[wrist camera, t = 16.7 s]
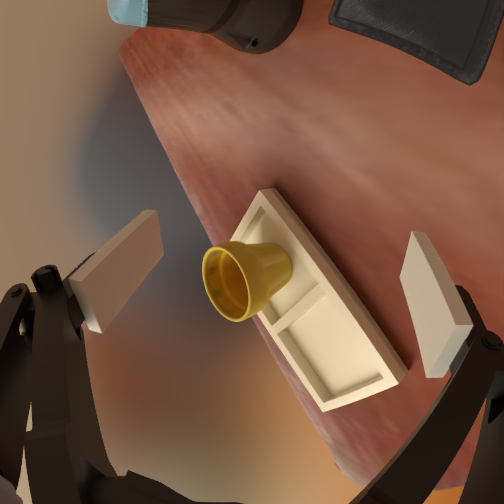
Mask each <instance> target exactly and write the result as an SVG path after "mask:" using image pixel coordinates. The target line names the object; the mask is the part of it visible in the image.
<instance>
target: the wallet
mask: <svg viewBox="0 0 504 504" xmlns="http://www.w3.org/2000/svg"><path fill="white" fill-rule="evenodd" d="M503 16H504V0H335V1H334V4H333V6H332V9H331V11H330V14H329V24H330V25H333V26H336V27H339V28H342V29H345V30H348V31H351V32H354V33H357V34H360V35H363V36H366V37H369V38H371V39H374V40H377V41H380V42H382V43H385V44H387V45H390V46H393V47H395V48H397V49H399V50H402V51H404V52H406V53H408V54H410V55H412V56H414V57H416V58H418V59H420V60H422V61H424V62H426V63H428V64H430V65H432V66H434V67H436V68H438V69H439V70H441V71H443V72H445V73H446V74H448V75H450V76H451V77H453V78H454V79H456V80H459V81H461V82H463V83H465V84H467V85H469V86H470V85H472V84H474V83H476V82H478V81H479V79H480V77H481V75H482V73H483V71H484V69H485V67H486V64H487V61H488V59H489V56H490V53H491V50H492V48H493V45H494V42H495V39H496V36H497V33H498V30H499V27H500V24H501V21H502V19H503Z"/></svg>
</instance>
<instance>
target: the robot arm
mask: <svg viewBox="0 0 504 504" xmlns="http://www.w3.org/2000/svg"><path fill="white" fill-rule="evenodd" d="M107 6H108V12H109V15H110V17H111V19H112V20H113V21H115V22H116V23H119V24H127V25H135V26H140V27H145V26H147V27H160V28H170V29H179V30H187V31H194V32H201V33H207V34H210V35H212V36H214V37H215V38H217V39H219V40H221V41H222V42H224V43H226V44H227V45H229V46H231V47H232V48H234V49H236V50H239V51H242V52H247V53H251V54H261V53H265V52H268V51H270V50H272V49H274V48H276V47H277V46H278V45H280V44H281V43H282V42H283V41H284V40H285V39H286V38H287V37H288V36H289V34H290V33H291V32H292V30H293V29H294V27H295V25H296V23H297V21H298V19H299V16H300V12H301V8H302V0H107ZM163 255H164V251H163V246H162V240H161V234H160V228H159V222H158V215H157V211H156V210H144V211H143V212H142V213H140V214H139V215H138V216H137V217H136V218H135V219H133V220H132V221H131V222H130V223H129V224H127V225H126V226H125V227H124V228H123V229H122V230H121V231H119V232H118V233H117V234H116V235H115V236H114V237H112V239H110V240H109V241H108V242H107V243H106V244H105V245H104V246H103V247H101V248H100V249H99V250H98V251H97V252H95V253H93V254H91V255H89V256H88V257H87V258H86V259H85V260H84V261H83V263H81V264H80V265H79V266H78V268H75V269H74V270H73V271H72V272H71V273H70V274H69V275H68V276H67V277H66V278H65V279H64V280H63V281H62V280H61V277H60V274H59V272H58V269H57V267H56V266H55V265H46V266H43V267H41V268H39V269H37V270H36V271H35V272H34V273H33V274H32V276H31V279H32V281H33V283H34V286H35V288H36V291H37V292H33V293H32V292H31V293H30V291H29V289H28V286H27V285H26V284H24V283H23V284H22V283H20V284H16V285H15V286H12V287H11V288H10V289H9V290H8V291H7V293H6V294H5V296H4V298H3V300H2V302H1V303H0V504H23V501H22V499H21V498H20V497H19V496H18V495H16V490H17V486H18V482H19V478H20V473H21V465H22V457H23V448H24V449H25V459H26V467H27V474H28V481H29V487H30V493H31V498H32V503H33V504H242V503H236V502H226V503H225V502H223V503H220V502H219V503H218V502H195V501H192V500H190V499H188V498H186V497H184V496H183V495H181V494H179V493H177V492H175V491H174V490H172V489H171V488H169V487H167V486H166V485H164V484H162V483H161V482H158V481H155V480H153V479H150V478H147V477H144V476H142V475H139V474H136V473H134V472H131V471H129V470H128V472H127V474H126V476H117V474H116V472H115V470H114V468H113V467H112V465H111V463H110V462H109V460H108V457H107V454H106V450H105V447H104V443H103V439H102V435H101V432H100V427H99V423H98V418H97V414H96V409H95V405H94V400H93V394H92V389H91V383H90V377H89V371H88V365H87V358H86V351H85V343H84V333H83V329H82V327H81V324H82V323H83V321H84V320H85V321H86V323H87V325H88V328H89V330H92V331H95V332H99V333H103V332H104V331H105V329H106V328H107V327H108V325H109V324H110V323H111V321H112V320H113V318H114V317H115V316H116V315H117V313H118V312H119V311H120V309H121V308H122V307H123V305H124V304H125V303H126V302H127V300H128V299H129V298H130V296H131V295H132V294H133V293H134V291H135V290H136V289H137V287H138V286H139V285H140V284H141V282H142V281H143V280H144V279H145V277H146V276H147V275H148V274H149V272H150V271H151V270H152V269H153V267H154V266H155V265H156V264H157V263H158V261H159V260H160V259H161V258H162V256H163ZM400 280H401V283H402V286H403V290H404V293H405V296H406V299H407V303H408V306H409V310H410V313H411V317H412V320H413V324H414V328H415V332H416V335H417V339H418V343H419V347H420V352H421V356H422V360H423V365H424V369H425V374H426V378H441V377H444V375H445V374H446V372H447V370H448V369H449V367H450V371H451V375H452V376H451V377H450V379H449V380H448V382H447V383H446V385H445V386H444V388H443V389H442V390H441V392H440V395H439V396H438V398H437V399H436V401H435V402H434V404H433V405H432V407H431V408H430V410H429V411H428V412H427V414H426V415H425V417H424V418H423V419H422V421H421V422H420V424H419V425H418V426H417V428H416V429H415V430H414V432H413V433H412V434H411V436H410V437H409V438H408V439H407V441H406V442H405V443H404V444H403V446H402V447H401V448H400V449H399V451H398V452H397V453H396V454H395V455H394V456H393V458H392V459H391V460H390V461H389V462H388V463H387V465H386V466H385V467H384V468H383V469H382V470H381V471H380V472H379V473H378V475H377V476H376V477H375V478H374V479H373V480H372V481H371V482H370V483H369V484H368V485H367V486H366V487H365V488H364V489H363V490H362V491H361V492H360V493H359V494H358V495H357V496H356V497H355V498H354V499H353V500H352V501H351V502H350V503H349V504H423V503H424V501H425V500H426V499H427V497H428V496H429V495H430V493H431V492H432V490H433V489H434V488H435V486H436V485H437V483H438V482H439V480H440V479H441V477H442V476H443V475H444V473H445V471H446V470H447V468H448V467H449V465H450V464H451V462H452V460H453V459H454V457H455V456H456V454H457V452H458V451H459V449H460V447H461V445H462V444H463V442H464V440H465V438H466V436H467V435H468V433H469V431H470V429H471V427H472V425H473V423H474V421H475V419H476V417H477V415H478V413H479V411H480V409H481V407H482V405H483V403H484V400H485V398H487V399H486V405H485V411H484V416H483V421H482V426H481V430H480V435H479V439H478V443H477V447H476V451H475V454H474V458H473V461H472V465H471V468H470V471H469V474H468V477H467V481H466V483H465V486H464V489H463V492H462V495H461V498H460V500H459V503H458V504H504V344H503V341H502V340H501V339H500V337H499V336H498V335H496V334H495V333H493V332H491V331H488V330H487V329H486V327H485V325H484V323H483V321H482V319H481V316H480V314H479V312H478V310H476V306H475V304H474V303H473V300H472V298H471V296H470V295H469V293H468V292H467V291H466V290H465V289H464V288H463V287H462V286H459V285H454V283H453V281H452V279H451V277H450V275H449V273H448V272H447V270H446V268H445V266H444V264H443V262H442V260H441V259H440V257H439V255H438V253H437V252H436V250H435V248H434V246H433V245H432V243H431V241H430V240H429V238H428V236H427V235H426V233H425V232H417V231H412V232H411V236H410V240H409V244H408V248H407V252H406V256H405V260H404V264H403V267H402V271H401V274H400ZM19 326H20V327H21V329H22V330H23V332H22V334H21V335H20V332H19ZM30 404H31V405H32V423H33V424H32V425H33V426H32V427H33V428H32V430H31V431H27V432H26V426H27V420H28V415H29V409H30Z"/></svg>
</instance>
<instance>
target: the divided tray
mask: <svg viewBox="0 0 504 504" xmlns="http://www.w3.org/2000/svg"><path fill="white" fill-rule="evenodd" d="M231 241H239V242H242V243H244V244H262V243H273V244H276V245H278V246H280V247H281V248H282V249H283V250H284V251H285V252H286V253H287V255H288V257H289V259H290V262H291V266H292V275H291V279H290V281H289V282H288V283H287V284H286V285H285V286H284V287H283V288H281V289H280V290H279V291H278V292H277V293H275V294H274V295H273V296H272V297H271V298H270V299H268V300H267V303H266V305H265V307H264V308H263V309H262V310H261V311H259V312H258V313H257V315H258V316H259V318H260V319H261V321H262V322H263V324H264V325H265V327H266V328H267V330H268V332H269V333H270V335H271V336H272V338H273V339H274V341H275V342H276V344H277V345H278V347H279V348H280V350H281V351H282V353H283V354H284V356H285V357H286V359H287V360H288V362H289V363H290V365H291V366H292V368H293V369H294V371H295V372H296V374H297V375H298V377H299V378H300V379H301V381H302V382H303V384H304V385H305V387H306V388H307V390H308V391H309V393H310V394H311V396H312V397H313V399H314V400H315V401H316V403H317V404H318V406H319V407H320V409H321V410H322V412H325V411H328V410H331V409H334V408H337V407H340V406H343V405H346V404H349V403H352V402H354V401H357V400H360V399H363V398H365V397H368V396H370V395H373V394H376V393H378V392H380V391H383V390H385V389H388V388H390V387H393V386H395V385H397V384H399V383H400V382H401V380H402V379H403V378H404V376H405V375H406V374H407V372H408V369H407V368H406V366H405V365H404V363H403V362H402V360H401V358H400V357H399V355H398V354H397V352H396V351H395V349H394V348H393V346H392V345H391V343H390V342H389V340H388V339H387V338H386V336H385V335H384V333H383V332H382V330H381V329H380V327H379V326H378V324H377V323H376V321H375V320H374V319H373V317H372V316H371V314H370V313H369V311H368V310H367V309H366V307H365V306H364V304H363V303H362V302H361V300H360V299H359V297H358V296H357V295H356V293H355V292H354V290H353V289H352V288H351V286H350V285H349V283H348V282H347V281H346V279H345V278H344V277H343V275H342V274H341V273H340V271H339V270H338V268H337V267H336V266H335V264H334V263H333V262H332V260H331V259H330V258H329V256H328V255H327V254H326V252H325V251H324V250H323V248H322V247H321V246H320V244H319V243H318V242H317V241H316V239H315V238H314V237H313V235H312V234H311V233H310V231H309V230H308V229H307V228H306V226H305V225H304V224H303V222H302V221H301V220H300V219H299V217H298V216H297V215H296V214H295V212H294V211H293V210H292V209H291V207H290V206H289V205H288V203H287V202H286V201H285V200H284V199H283V197H282V196H281V195H280V194H279V192H278V191H277V190H276V189H275V188H270V189H263V190H259V191H258V193H257V195H256V197H255V198H254V200H253V202H252V203H251V205H250V207H249V209H248V210H247V212H246V214H245V216H244V217H243V219H242V221H241V222H240V224H239V226H238V228H237V229H236V231H235V233H234V235H233V236H232V238H231V240H230V242H231Z"/></svg>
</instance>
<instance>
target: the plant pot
mask: <svg viewBox="0 0 504 504" xmlns="http://www.w3.org/2000/svg"><path fill="white" fill-rule="evenodd" d="M202 264H203V265H202V274H203V281H204V285H205V288H206V291H207V293H208V296H209V298H210V300H211V302H212V303H213V305H214V306H215V308H216V309H217V310H218V311H219V313H221V314H222V315H223V316H224V317H226V318H227V319H229V320H231V321H235V322H239V321H243V320H245V319H247V318H249V317H251V316H253V315H255V314H256V313H258V312H259V311H261V310H262V309H263V308H264V307H265V305H266V303H267V300H268V299H270V298H271V297H272V296H273V295H274V294H275V293H277V292H278V291H279V290H280V289H281V288H283V287H284V286H285V285H286V284H287V283H288V282H289V281H290V279H291V275H292V266H291V262H290V259H289V257H288V255H287V253H286V252H285V251H284V250H283V249H282V248H281V247H280V246H278V245H276V244H273V243H262V244H244V243H242V242H239V241H231V242H226V243H222V244H219V245H216V246H213V247H211V248H210V249H209V250H208V251H207V252H206V253H205V256H204V259H203V263H202Z"/></svg>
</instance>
